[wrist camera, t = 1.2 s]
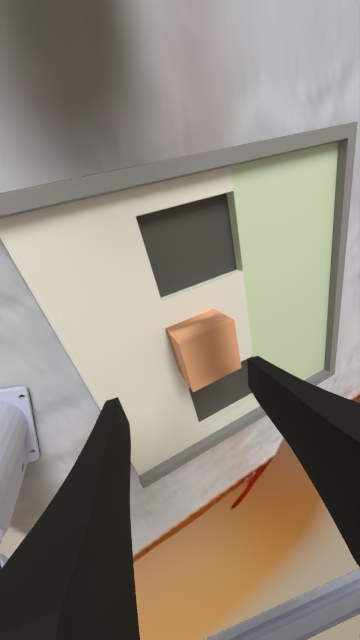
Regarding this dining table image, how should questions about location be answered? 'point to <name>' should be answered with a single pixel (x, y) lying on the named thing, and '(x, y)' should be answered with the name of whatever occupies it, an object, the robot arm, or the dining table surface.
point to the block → (205, 348)
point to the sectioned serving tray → (191, 277)
